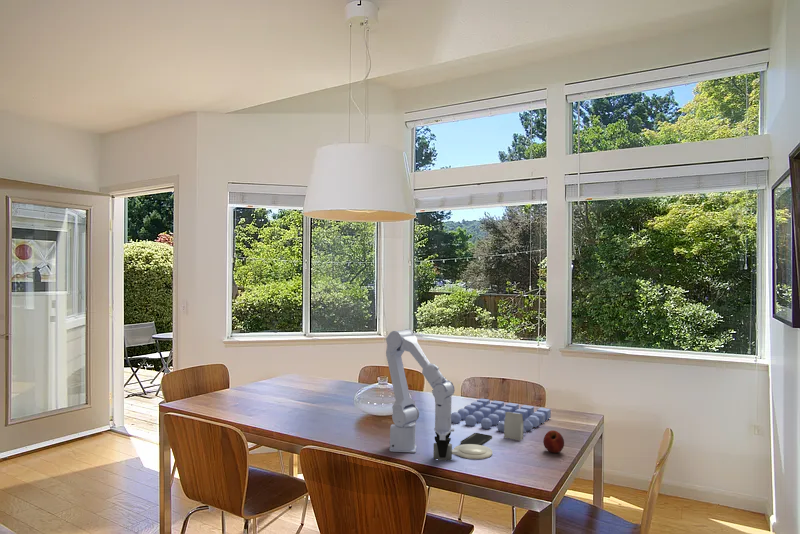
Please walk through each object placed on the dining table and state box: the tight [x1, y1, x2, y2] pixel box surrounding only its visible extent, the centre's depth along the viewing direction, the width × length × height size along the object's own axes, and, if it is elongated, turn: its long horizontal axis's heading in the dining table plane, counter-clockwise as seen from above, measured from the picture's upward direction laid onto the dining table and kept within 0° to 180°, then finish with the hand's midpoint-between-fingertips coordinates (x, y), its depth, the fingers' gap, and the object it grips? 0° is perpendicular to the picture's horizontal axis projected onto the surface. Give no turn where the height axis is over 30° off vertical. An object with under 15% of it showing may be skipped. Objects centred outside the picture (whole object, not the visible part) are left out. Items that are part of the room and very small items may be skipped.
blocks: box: [451, 397, 552, 435], centre depth 232 cm, size 35×34×5 cm
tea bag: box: [503, 412, 524, 441], centre depth 207 cm, size 4×7×10 cm, turn 61°
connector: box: [432, 442, 458, 461], centre depth 182 cm, size 8×4×5 cm, turn 84°
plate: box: [453, 444, 493, 460], centre depth 189 cm, size 14×14×1 cm
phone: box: [460, 432, 493, 446], centre depth 203 cm, size 8×1×15 cm
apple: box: [542, 430, 565, 454], centre depth 191 cm, size 7×8×8 cm
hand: (442, 454), depth 182 cm, fingers open, 5 cm apart
